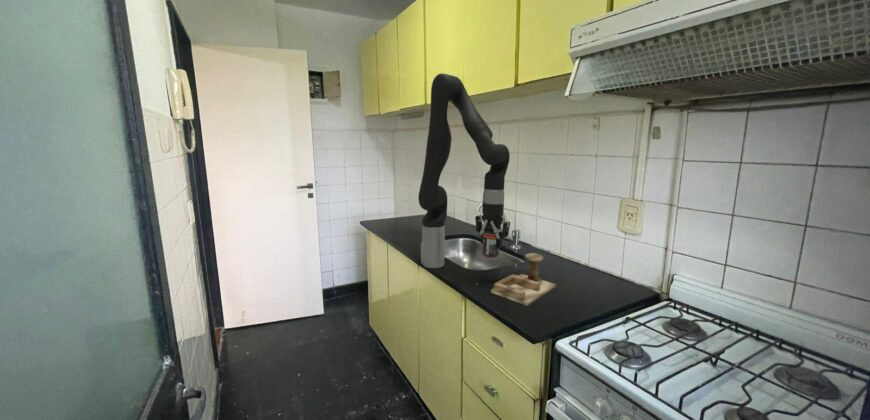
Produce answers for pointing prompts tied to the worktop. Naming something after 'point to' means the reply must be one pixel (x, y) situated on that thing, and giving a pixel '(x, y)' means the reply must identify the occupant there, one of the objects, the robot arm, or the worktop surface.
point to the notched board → (521, 289)
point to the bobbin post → (533, 266)
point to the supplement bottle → (489, 243)
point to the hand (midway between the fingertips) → (490, 245)
